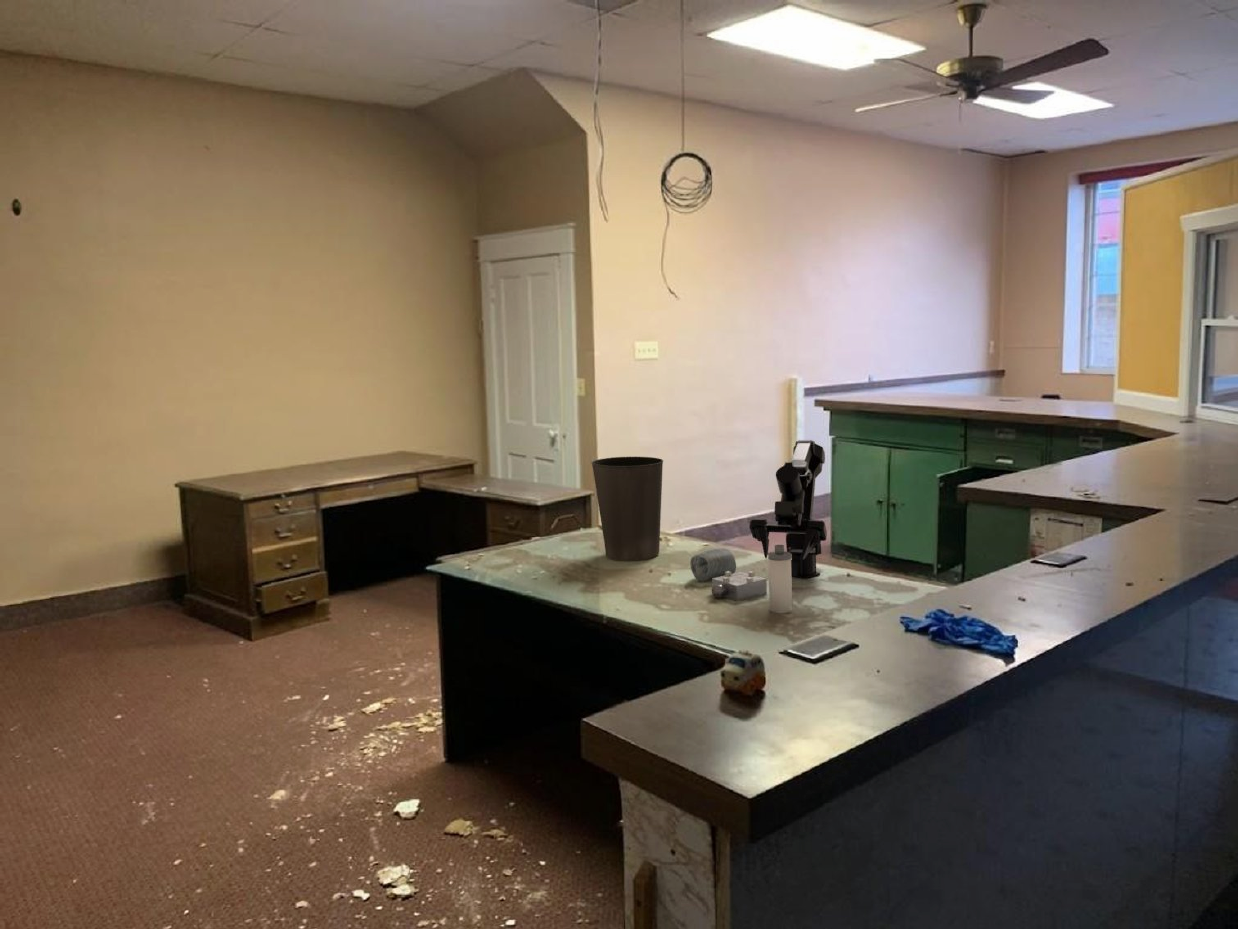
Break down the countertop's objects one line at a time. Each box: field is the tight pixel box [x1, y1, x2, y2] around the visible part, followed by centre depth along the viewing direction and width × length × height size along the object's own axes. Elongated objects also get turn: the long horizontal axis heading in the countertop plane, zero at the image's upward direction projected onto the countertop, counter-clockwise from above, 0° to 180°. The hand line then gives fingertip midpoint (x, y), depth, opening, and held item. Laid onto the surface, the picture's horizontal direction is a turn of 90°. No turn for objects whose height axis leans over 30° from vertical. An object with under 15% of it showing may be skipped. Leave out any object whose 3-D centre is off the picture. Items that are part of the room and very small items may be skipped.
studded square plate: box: [711, 571, 768, 602], centre depth 240 cm, size 13×10×5 cm
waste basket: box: [591, 456, 664, 562], centre depth 289 cm, size 27×20×30 cm
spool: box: [690, 547, 737, 583], centre depth 258 cm, size 14×10×10 cm
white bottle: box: [767, 544, 793, 614], centre depth 224 cm, size 6×6×16 cm
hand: (783, 558), depth 229 cm, fingers open, 9 cm apart
